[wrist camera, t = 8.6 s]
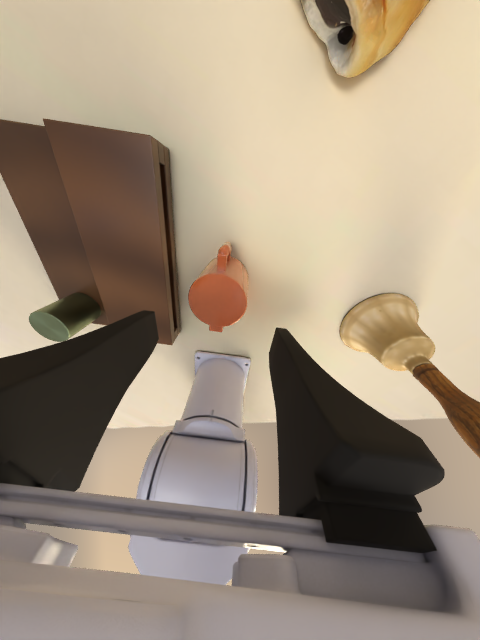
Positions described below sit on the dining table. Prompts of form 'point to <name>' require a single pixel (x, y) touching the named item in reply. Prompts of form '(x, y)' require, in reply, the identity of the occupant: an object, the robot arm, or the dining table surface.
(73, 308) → the tin
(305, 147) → the dining table surface
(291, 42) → the dining table surface
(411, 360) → the hand bell
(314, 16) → the pastry
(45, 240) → the step shelf
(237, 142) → the dining table surface
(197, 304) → the jug
